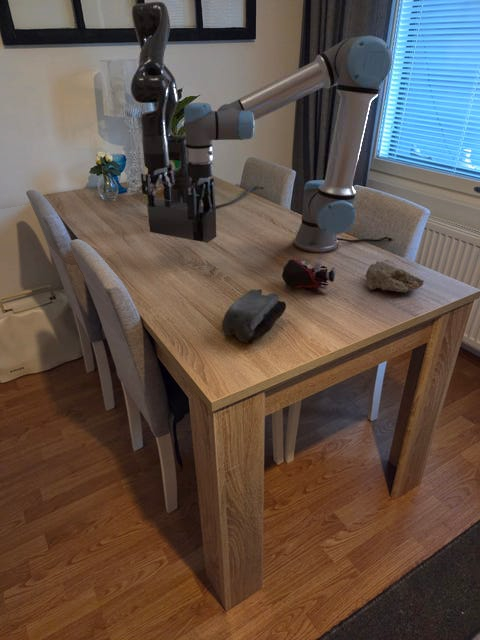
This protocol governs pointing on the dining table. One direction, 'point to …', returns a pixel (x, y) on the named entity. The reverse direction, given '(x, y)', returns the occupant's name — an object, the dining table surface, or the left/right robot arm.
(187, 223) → the box
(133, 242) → the dining table surface
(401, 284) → the artifact
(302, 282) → the toy
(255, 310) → the dark grey pouch
